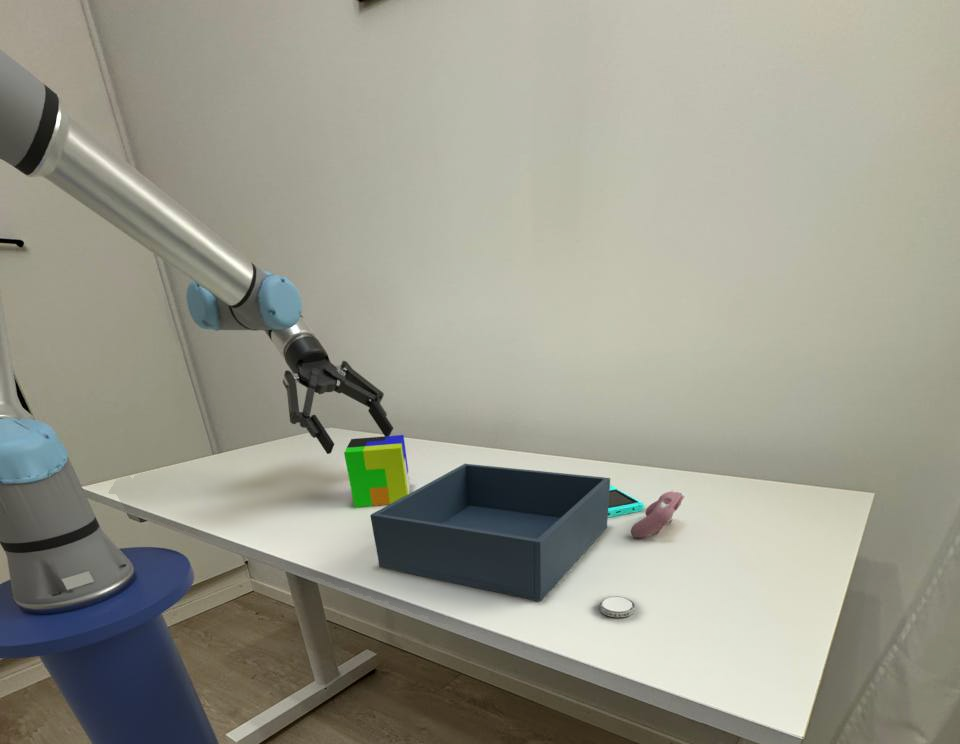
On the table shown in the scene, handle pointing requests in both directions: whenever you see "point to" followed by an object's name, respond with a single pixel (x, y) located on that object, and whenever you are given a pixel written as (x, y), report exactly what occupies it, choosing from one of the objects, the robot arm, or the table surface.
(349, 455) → the puzzle toy
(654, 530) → the video game controller
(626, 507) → the handheld game console
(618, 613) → the white grey disc
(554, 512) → the bin
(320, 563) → the table surface
